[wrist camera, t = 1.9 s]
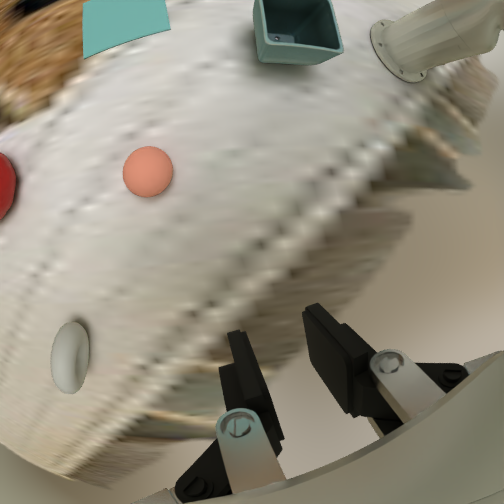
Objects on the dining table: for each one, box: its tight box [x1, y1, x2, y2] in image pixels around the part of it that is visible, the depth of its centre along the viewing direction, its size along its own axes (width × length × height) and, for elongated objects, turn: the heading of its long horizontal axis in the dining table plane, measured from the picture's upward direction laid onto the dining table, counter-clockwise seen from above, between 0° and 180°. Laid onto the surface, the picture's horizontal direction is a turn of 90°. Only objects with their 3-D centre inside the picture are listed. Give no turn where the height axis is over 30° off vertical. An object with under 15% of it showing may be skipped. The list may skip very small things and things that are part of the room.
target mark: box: [83, 0, 171, 59], centre depth 22 cm, size 12×12×1 cm
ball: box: [123, 146, 173, 197], centre depth 27 cm, size 6×6×6 cm
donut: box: [51, 322, 89, 394], centre depth 27 cm, size 10×4×10 cm, turn 166°
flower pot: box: [253, 0, 344, 65], centre depth 24 cm, size 9×9×9 cm
